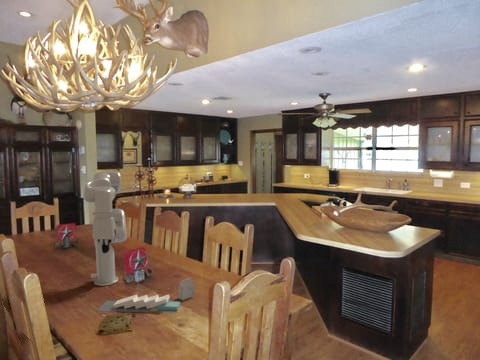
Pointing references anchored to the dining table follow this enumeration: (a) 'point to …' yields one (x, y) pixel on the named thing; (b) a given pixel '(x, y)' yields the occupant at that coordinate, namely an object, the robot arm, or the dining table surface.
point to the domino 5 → (169, 306)
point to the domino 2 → (137, 301)
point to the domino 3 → (148, 301)
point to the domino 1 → (125, 301)
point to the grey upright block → (186, 289)
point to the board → (130, 308)
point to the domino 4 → (159, 301)
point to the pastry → (116, 323)
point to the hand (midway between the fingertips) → (105, 252)
